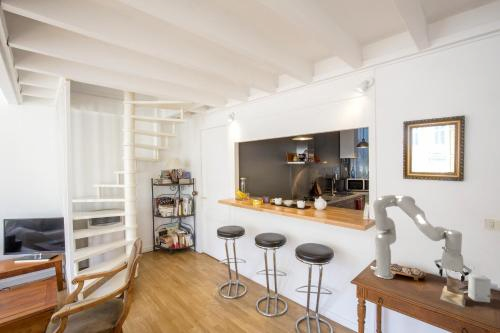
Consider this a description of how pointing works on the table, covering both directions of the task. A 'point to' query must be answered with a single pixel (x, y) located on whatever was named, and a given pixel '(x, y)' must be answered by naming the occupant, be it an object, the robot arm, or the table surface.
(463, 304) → the blueprint board
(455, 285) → the walnut block
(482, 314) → the table surface
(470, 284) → the skincare box
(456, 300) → the oak block
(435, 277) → the table surface
